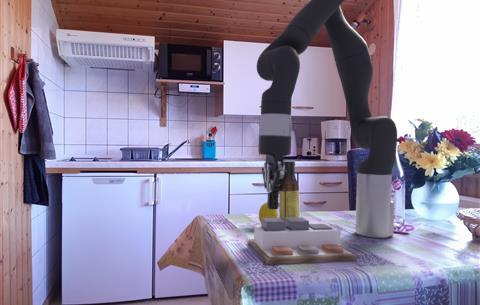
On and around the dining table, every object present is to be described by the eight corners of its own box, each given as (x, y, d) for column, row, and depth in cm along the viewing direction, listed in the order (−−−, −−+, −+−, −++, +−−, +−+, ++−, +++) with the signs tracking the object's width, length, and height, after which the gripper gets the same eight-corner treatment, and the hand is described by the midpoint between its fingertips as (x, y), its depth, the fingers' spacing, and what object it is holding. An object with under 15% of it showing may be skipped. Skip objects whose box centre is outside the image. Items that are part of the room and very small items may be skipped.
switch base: (323, 240, 91) (324, 231, 91) (356, 260, 75) (356, 249, 75) (248, 243, 87) (249, 233, 87) (267, 264, 71) (267, 253, 71)
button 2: (301, 233, 85) (301, 217, 85) (308, 238, 81) (309, 221, 81) (284, 234, 84) (284, 217, 84) (290, 238, 80) (291, 221, 80)
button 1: (323, 239, 87) (323, 223, 86) (331, 244, 82) (331, 227, 82) (306, 240, 86) (307, 224, 86) (313, 245, 81) (314, 228, 81)
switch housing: (324, 239, 89) (325, 223, 89) (340, 247, 81) (340, 230, 81) (253, 241, 85) (254, 224, 85) (262, 250, 77) (263, 232, 77)
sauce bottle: (301, 222, 113) (303, 161, 112) (294, 225, 107) (295, 161, 107) (283, 219, 116) (285, 160, 116) (275, 223, 111) (276, 160, 111)
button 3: (278, 234, 84) (279, 217, 84) (284, 239, 80) (285, 221, 80) (261, 234, 83) (261, 218, 83) (266, 239, 79) (266, 221, 79)
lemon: (276, 231, 100) (276, 203, 100) (257, 229, 101) (257, 202, 101) (278, 227, 105) (278, 200, 105) (259, 225, 106) (260, 199, 106)
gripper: (301, 134, 76) (298, 214, 76) (281, 136, 89) (279, 204, 89) (267, 132, 74) (264, 214, 74) (252, 134, 87) (250, 204, 87)
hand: (272, 208), depth 81 cm, fingers closed
